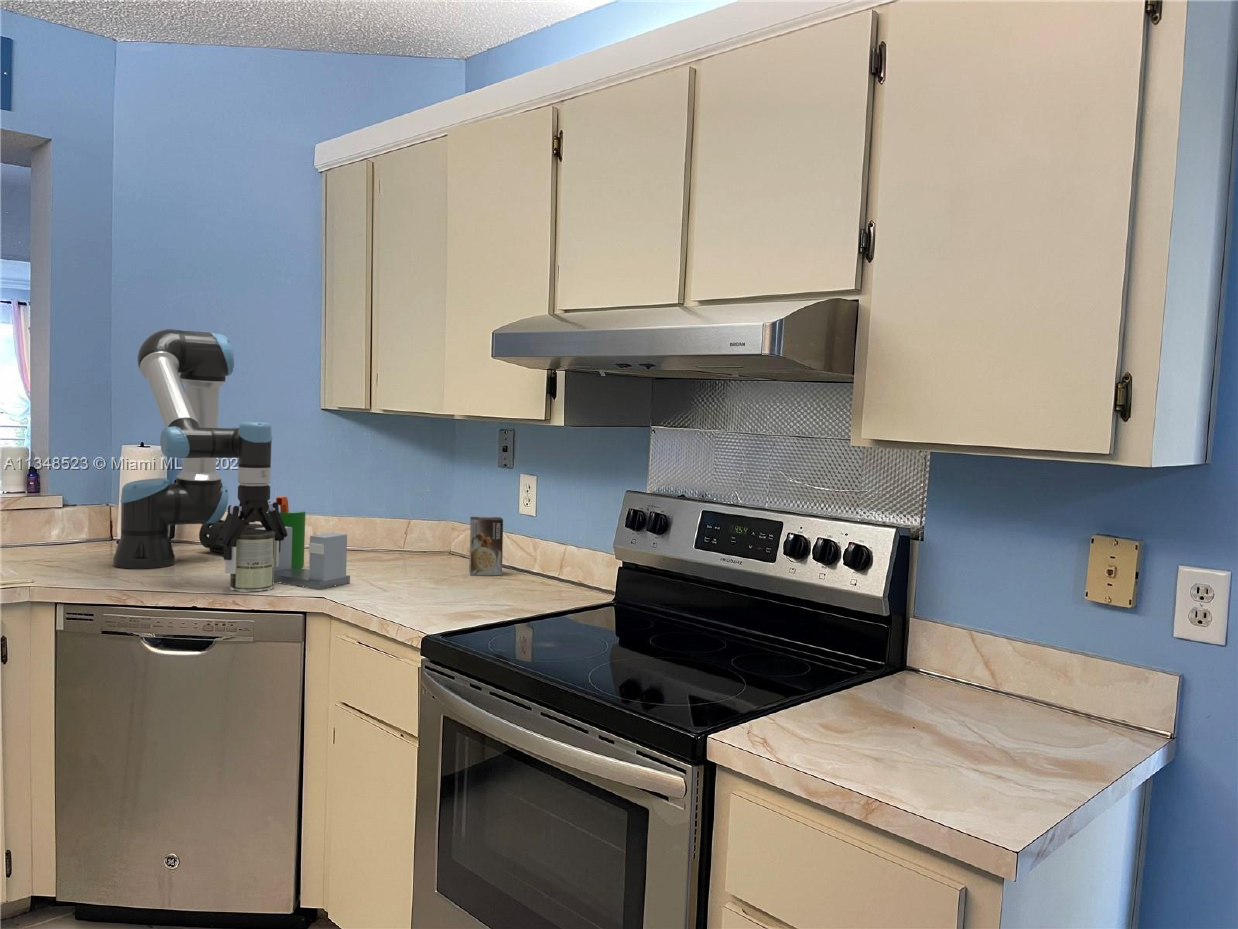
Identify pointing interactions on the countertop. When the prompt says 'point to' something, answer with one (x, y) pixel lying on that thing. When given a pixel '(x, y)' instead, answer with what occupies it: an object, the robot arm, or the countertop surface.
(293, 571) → the rail plate
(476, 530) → the coffee box
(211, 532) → the muzzle brake
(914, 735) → the countertop surface
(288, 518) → the green tall piece
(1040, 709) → the countertop surface
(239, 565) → the coffee can
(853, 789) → the countertop surface
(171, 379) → the robot arm
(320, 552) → the mounted blocks
